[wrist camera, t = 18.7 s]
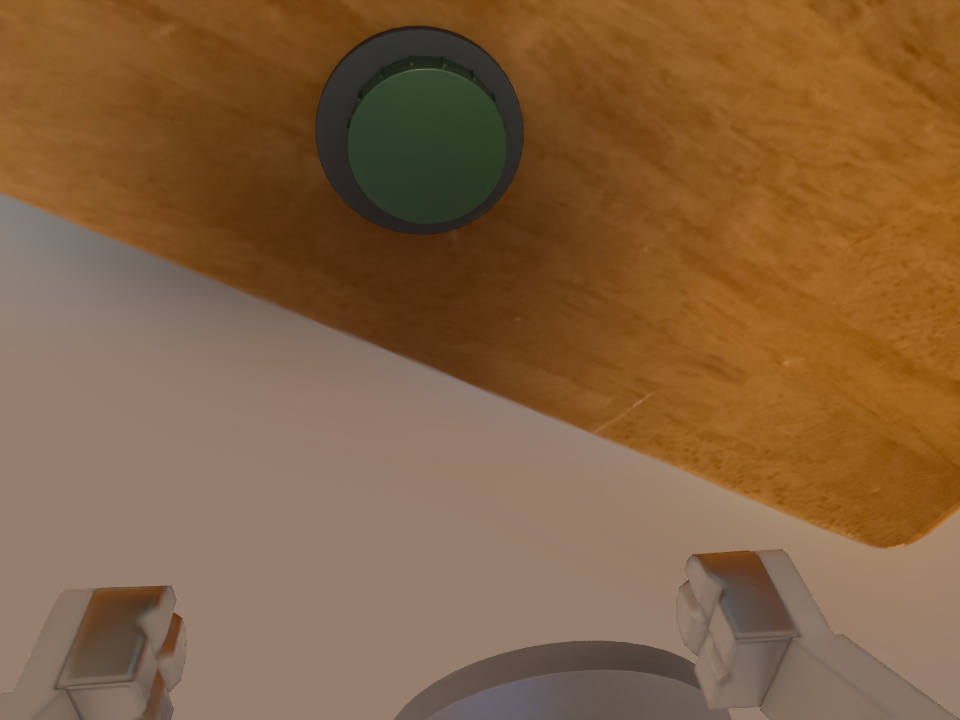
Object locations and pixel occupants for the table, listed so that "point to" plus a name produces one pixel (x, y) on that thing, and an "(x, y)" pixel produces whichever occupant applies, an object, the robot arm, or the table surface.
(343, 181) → the coaster
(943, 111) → the table surface
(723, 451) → the table surface
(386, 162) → the lid
